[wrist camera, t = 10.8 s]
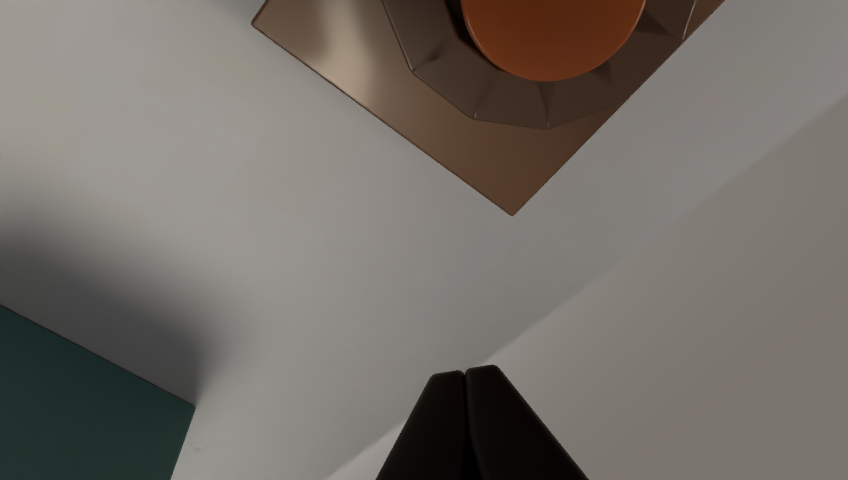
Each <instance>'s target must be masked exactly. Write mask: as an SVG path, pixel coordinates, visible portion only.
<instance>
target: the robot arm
mask: <svg viewBox="0 0 848 480" xmlns="http://www.w3.org/2000/svg"><path fill="white" fill-rule="evenodd" d="M376 480H589V479H588V478H587V477H586V476H585V474H584V473H583V472H582V470H581V469H580V468H579V467H578V465H577V464H576V463H575V462H574V461H573V460H572V458H571V457H570V456H569V454H568V453H567V452H566V451H565V449H564V448H563V447H562V446H561V444H560V443H559V442H558V441H557V439H556V438H555V437H554V436H553V434H552V433H551V432H550V431H549V429H548V428H547V427H546V426H545V424H544V423H543V422H542V421H541V419H540V418H539V417H538V416H537V415H536V413H535V412H534V411H533V410H532V408H531V407H530V406H529V405H528V403H527V402H526V401H525V400H524V398H523V397H522V396H521V395H520V393H519V392H518V391H517V390H516V389H515V387H514V386H513V385H512V383H511V382H510V381H509V380H508V378H507V377H506V376H505V375H504V373H503V372H502V371H501V370H500V368H498V367H497V366H495V365H486V366H480V367H474V368H469V369H467V370H466V372H465V375H464V373H463V372H462V371H460V370H456V371H449V372H443V373H437V374H434V375H432V376H431V377H430V379H429V380H428V382H427V384H426V386H425V388H424V390H423V392H422V394H421V395H420V397H419V399H418V401H417V403H416V405H415V407H414V409H413V410H412V412H411V414H410V416H409V418H408V420H407V422H406V424H405V426H404V428H403V430H402V431H401V433H400V435H399V437H398V439H397V440H396V442H395V444H394V446H393V448H392V450H391V452H390V454H389V455H388V457H387V459H386V461H385V463H384V465H383V467H382V469H381V470H380V472H379V474H378V476H377V478H376Z"/></svg>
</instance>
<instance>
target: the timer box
mask: <svg viewBox="0 0 848 480" xmlns="http://www.w3.org/2000/svg"><path fill="white" fill-rule="evenodd" d="M724 1H725V0H646V3H645V6H644V9H643V12H642V15H641V17H640V19H639V21H638V23H637V25H636V27H635V29H634V30H633V32H632V33H631V35H630V36H629V38H628V39H627V40H626V42H625V43H624V44H623V45H622V46H621V48H620V49H619V50H618V51H617V52H616V53H614V54H613V55H612V56H611V57H610V58H609V59H607V60H606V61H605V62H603V63H602V64H601V65H599V66H597V67H596V68H594V69H592V70H591V71H588V72H586V73H584V74H581V75H579V76H576V77H573V78H569V79H564V80H559V81H533V80H528V79H524V78H520V77H518V76H515V75H512V74H510V73H508V72H506V71H504V70H502V69H501V68H499V67H498V66H496V65H495V64H494V63H492V62H491V61H490V60H489V59H488V58H487V57H486V56H485V55H484V54H483V53H482V52H481V51H480V49H479V48H478V47H477V46H476V44H475V42H474V41H473V39H472V37H471V36H470V33H469V31H468V29H467V26H466V24H465V20H464V16H463V13H462V9H461V4H460V0H266V1H265V2H264V4H263V5H262V7H261V8H260V10H259V11H258V13H257V14H256V16H255V17H254V19H253V20H252V22H251V25H252V26H253V27H254V28H256V29H257V30H258V31H260V32H261V33H262V34H264V35H265V36H266V37H268V38H269V39H271V40H272V41H273V42H275V43H276V44H277V45H279V46H280V47H281V48H283V49H284V50H286V51H287V52H288V53H290V54H291V55H292V56H294V57H295V58H296V59H298V60H299V61H301V62H302V63H303V64H305V65H306V66H307V67H309V68H310V69H311V70H313V71H314V72H316V73H317V74H318V75H320V76H321V77H322V78H324V79H325V80H326V81H328V82H329V83H331V84H332V85H333V86H335V87H336V88H337V89H339V90H340V91H341V92H343V93H344V94H345V95H347V96H348V97H350V98H351V99H352V100H354V101H355V102H356V103H358V104H359V105H360V106H362V107H363V108H365V109H366V110H367V111H369V112H370V113H371V114H373V115H374V116H375V117H377V118H378V119H380V120H381V121H382V122H384V123H385V124H386V125H388V126H389V127H390V128H392V129H393V130H395V131H396V132H397V133H399V134H400V135H401V136H403V137H404V138H405V139H407V140H408V141H410V142H411V143H412V144H414V145H415V146H416V147H418V148H419V149H420V150H422V151H423V152H425V153H426V154H427V155H429V156H430V157H431V158H433V159H434V160H435V161H437V162H438V163H440V164H441V165H442V166H444V167H445V168H446V169H448V170H449V171H450V172H452V173H453V174H455V175H456V176H457V177H459V178H460V179H461V180H463V181H464V182H465V183H467V184H468V185H470V186H471V187H472V188H474V189H475V190H476V191H478V192H479V193H480V194H482V195H483V196H484V197H486V198H487V199H489V200H490V201H491V202H493V203H494V204H495V205H497V206H498V207H499V208H501V209H502V210H504V211H505V212H506V213H508V214H509V215H511V216H514V215H515V214H516V213H517V212H518V211H519V210H520V209H521V208H522V207H523V206H524V205H525V204H526V202H527V201H528V200H529V199H530V198H531V197H532V196H533V195H534V194H535V193H536V192H537V191H538V190H539V189H540V188H541V187H542V186H543V185H544V184H545V183H546V182H547V181H548V180H549V179H550V178H551V177H552V176H553V175H554V174H555V173H556V172H557V171H558V170H559V169H560V168H561V167H562V166H563V165H564V164H565V163H566V162H567V161H568V160H569V159H570V158H571V157H572V156H573V155H574V154H575V153H576V152H577V151H578V149H579V148H580V147H581V146H582V145H583V144H584V143H585V142H586V141H587V140H588V139H589V138H590V137H591V136H592V135H593V134H594V133H595V132H596V131H597V130H598V129H599V128H600V127H601V126H602V125H603V124H604V123H605V122H606V121H607V120H608V119H609V118H610V117H611V116H612V115H613V114H614V113H615V112H616V111H617V110H618V109H619V108H620V107H621V106H622V105H623V104H624V103H625V102H626V101H627V100H628V99H629V97H630V96H631V95H632V94H633V93H634V92H635V91H636V90H637V89H638V88H639V87H640V86H641V85H642V84H643V83H644V82H645V81H646V80H647V79H648V78H649V77H650V76H651V75H652V74H653V73H654V72H655V71H656V70H657V69H658V68H659V67H660V66H661V65H662V64H663V63H664V62H665V61H666V60H667V59H668V58H669V57H670V56H671V55H672V54H673V53H674V52H675V51H676V50H677V49H678V48H679V47H680V46H681V44H682V43H683V42H684V41H685V40H686V39H687V38H688V37H689V36H690V35H691V34H692V33H693V32H694V31H695V30H696V29H697V28H698V27H699V26H700V25H701V24H702V23H703V22H704V21H705V20H706V19H707V18H708V17H709V16H710V15H711V14H712V13H713V12H714V11H715V10H716V9H717V8H718V7H719V6H720V5H721V4H722V3H723V2H724Z"/></svg>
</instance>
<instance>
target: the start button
mask: <svg viewBox="0 0 848 480" xmlns="http://www.w3.org/2000/svg"><path fill="white" fill-rule="evenodd" d="M645 3H646V0H460V4H461V9H462V13H463V16H464V20H465V24H466V26H467V29H468V31H469V33H470V36H471V37H472V39H473V41H474V42H475V44H476V46H477V47H478V48H479V49H480V51H481V52H482V53H483V54H484V55H485V56H486V57H487V58H488V59H489V60H490V61H491V62H492V63H494V64H495V65H496V66H498V67H499V68H501V69H502V70H504V71H506V72H508V73H510V74H512V75H515V76H518V77H520V78H524V79H528V80H533V81H559V80H564V79H569V78H573V77H576V76H579V75H581V74H584V73H586V72H588V71H591V70H592V69H594V68H596V67H597V66H599V65H601V64H602V63H603V62H605V61H606V60H607V59H609V58H610V57H611V56H612V55H613V54H614V53H616V52H617V51H618V50H619V49H620V48H621V46H622V45H623V44H624V43H625V42H626V40H627V39H628V38H629V36H630V35H631V33H632V32H633V30H634V29H635V27H636V25H637V23H638V21H639V19H640V17H641V15H642V12H643V9H644V6H645Z"/></svg>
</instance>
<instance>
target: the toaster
mask: <svg viewBox="0 0 848 480" xmlns="http://www.w3.org/2000/svg"><path fill="white" fill-rule="evenodd" d="M195 409H196V407H194V406H193V405H191V404H189V403H187V402H185V401H183V400H181V399H179V398H177V397H175V396H173V395H171V394H169V393H168V392H166V391H164V390H162V389H160V388H158V387H156V386H154V385H152V384H150V383H148V382H146V381H144V380H143V379H141V378H139V377H137V376H135V375H133V374H131V373H129V372H127V371H125V370H123V369H121V368H119V367H118V366H116V365H114V364H112V363H110V362H108V361H106V360H104V359H102V358H100V357H98V356H96V355H94V354H93V353H91V352H89V351H87V350H85V349H83V348H81V347H79V346H77V345H75V344H73V343H71V342H69V341H68V340H66V339H64V338H62V337H60V336H58V335H56V334H54V333H52V332H50V331H48V330H46V329H44V328H43V327H41V326H39V325H37V324H35V323H33V322H31V321H29V320H27V319H25V318H23V317H21V316H19V315H18V314H16V313H14V312H12V311H10V310H8V309H6V308H4V307H2V306H0V480H170V479H171V476H172V474H173V471H174V468H175V465H176V462H177V460H178V457H179V454H180V451H181V449H182V446H183V443H184V440H185V437H186V435H187V432H188V429H189V426H190V423H191V421H192V418H193V415H194V412H195Z"/></svg>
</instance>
